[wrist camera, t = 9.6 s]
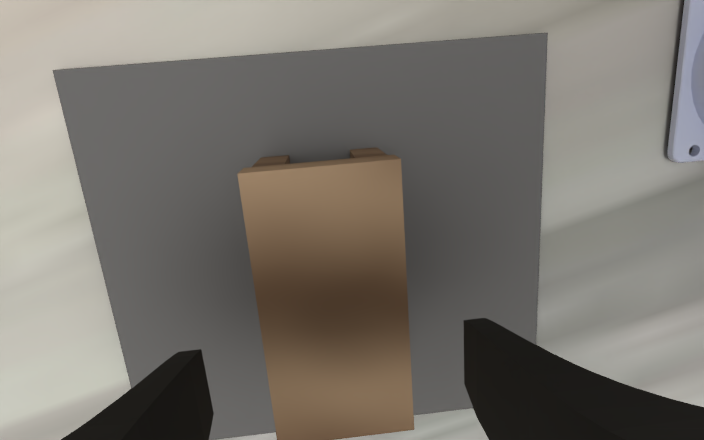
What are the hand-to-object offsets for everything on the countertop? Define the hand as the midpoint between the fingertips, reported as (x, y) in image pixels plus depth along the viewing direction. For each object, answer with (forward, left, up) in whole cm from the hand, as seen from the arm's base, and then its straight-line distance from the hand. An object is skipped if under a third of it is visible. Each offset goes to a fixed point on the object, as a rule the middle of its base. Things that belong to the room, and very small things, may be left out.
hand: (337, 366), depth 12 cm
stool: (0, 0, -8) cm, 9 cm away
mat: (0, 0, -9) cm, 9 cm away
